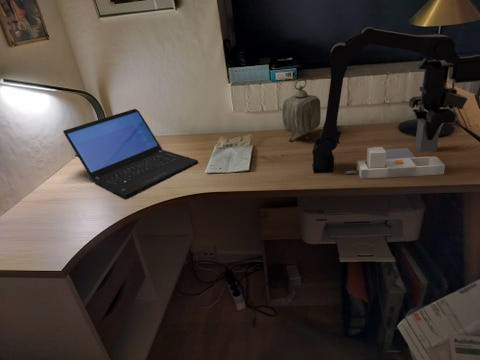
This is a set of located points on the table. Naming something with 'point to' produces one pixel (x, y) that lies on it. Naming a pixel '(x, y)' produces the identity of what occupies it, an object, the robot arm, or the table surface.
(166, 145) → the table surface
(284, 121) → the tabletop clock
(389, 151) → the slate mat
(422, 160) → the power strip
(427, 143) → the grey rectangular block
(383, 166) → the block
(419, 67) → the robot arm
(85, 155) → the laptop
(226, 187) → the table surface
